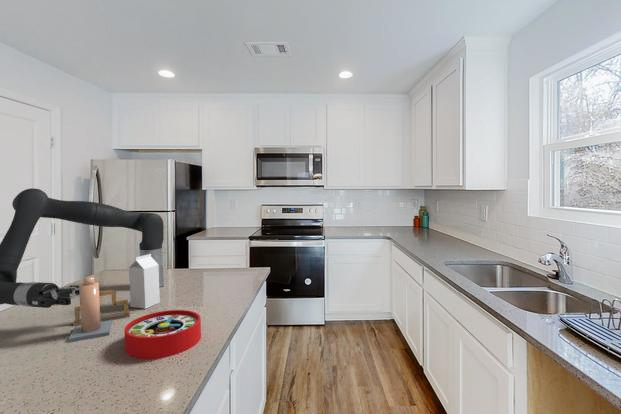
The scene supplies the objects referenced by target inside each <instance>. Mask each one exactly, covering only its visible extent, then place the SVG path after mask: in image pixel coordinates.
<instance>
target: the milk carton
mask: <svg viewBox="0 0 621 414" xmlns="http://www.w3.org/2000/svg"><path fill="white" fill-rule="evenodd" d="M128 274H129V275H128V276H129V297H130V298H129V299H130V307H131V308H137V309H142V310H143V309H144V310H145V309H148V308H151V307H152V306H155V305H157V304H160V303H161V300H160V295H161V294H160V287H159V269H158V264H157V262H156V261H155V260H154V259H153V258H152V257H151V254H148V255H144V256H140V255H139V256H135V260H134V262H133V263H132V264H130V266H129V267H128Z"/></svg>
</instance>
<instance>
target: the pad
mask: <svg viewBox="0 0 621 414" xmlns="http://www.w3.org/2000/svg"><path fill="white" fill-rule="evenodd" d="M112 323H113V320H107V321H101V328H100V329H98V330H96V331H93V332H87V333H85V332H82V331H81V325H76V326H74V327H73V330H72V331H71V334H70V336H69V338H68V343H72V342H77V341H82V340H88V339H95V338H99V337H100V338H101V337H105V336H110V333H111V329H112V325H113V324H112Z"/></svg>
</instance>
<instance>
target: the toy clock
mask: <svg viewBox="0 0 621 414" xmlns="http://www.w3.org/2000/svg"><path fill="white" fill-rule="evenodd" d="M201 319H202V318H201V316H200V314H199V313H198V312H196V311H193V310H188V309H171V310H170V309H169V310H168V309H167V310H162V311H156V312H151V313H148V314H146V315H142V316H140V317H138V318H135V319H133V320H131V321H129V323H127V324H126V325H125V327H124V329H123V330H124V352H125V353H126V355H128V356H129V357H131V358H134V359H141V360H156V359H162V358H163V359H164V358H168V357H171V356H175V355H178V354H182V353H184V352H186V351H189V350H190V349H192V348H193V347H195V346H196V345H198V343H199V342H200V341H201V339H202V321H201Z"/></svg>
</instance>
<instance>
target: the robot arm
mask: <svg viewBox="0 0 621 414" xmlns="http://www.w3.org/2000/svg"><path fill="white" fill-rule="evenodd" d="M11 204H12V207H13V210H14V215H13V218H12V221H11V223H10V225H9V228H8V230H7V231H6V233H5V235H4V237H3V238H2V240H1V242H0V305H9V306H10V305H11V306H21V307H30V308H43V309H44V308H45V309H50V308H51V307H52V306H54V307H56V306H57V307H58V306H70V305H71V304H72V301H71V300H72V299H75V298H76V297H80V293H79V285H80V284H78V285H74V284H71V285H68V286H69V287H63V286H62V287H59V286H58V285H57V284H56V283H53V282H42V281H41V282H36V281H32V282H17V279H18V269H19V266H20V264H21V262H22V259H23V257H24V254H25V253H26V252H25V251H26V249H27V247H28V244H29V241H30V238H31V236H32V233H33V231H34V229H35V227H36V225H37V223H38V222H39V220H40V218H42V219H43V218H44V219H45V218H46V219H57V220H63V221H67V222H71V223H77V224H82V225H88V226H95V227H103V228H105V227H106V228H126V229H130V230H133V231H137V232H141V235H142V236H141V242H139V245H138V246H139V256H144V255H148V254H151V257H152V258H153V259H154V260H155V261H156V262H157V264H158V269H159V288H160V287H162V288H163V287H164V286H165V282H164V279H165V277H164V264H163V261H164V260H163V243H164V238H165V237H164V236H165V233H164V229H165V227H164V220H163V218H162V216H161V215H160V214H158V213H154V212H138V211H129V210H125V209H122V208H119V207H115V206H113V205H110V204H105V203H99V202H95V201H88V200H86V201H85V200H62V199H55V198H52V197H49V196H48V194H47V193H46V192H44V190H42V189H39V188H26V189H23V190H22V191H20V192H19V193H18V194H16V195H15V197H14V198H13V200H12V203H11ZM71 294H72V295H71Z"/></svg>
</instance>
